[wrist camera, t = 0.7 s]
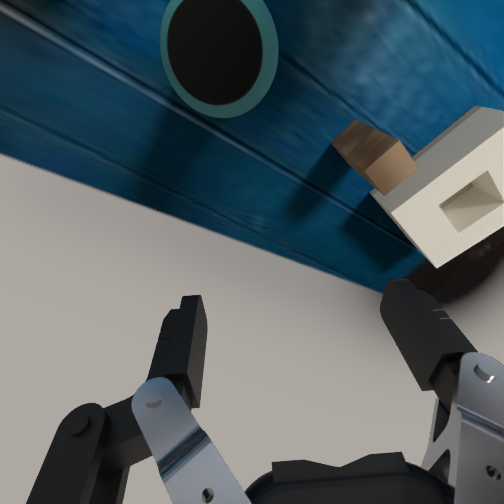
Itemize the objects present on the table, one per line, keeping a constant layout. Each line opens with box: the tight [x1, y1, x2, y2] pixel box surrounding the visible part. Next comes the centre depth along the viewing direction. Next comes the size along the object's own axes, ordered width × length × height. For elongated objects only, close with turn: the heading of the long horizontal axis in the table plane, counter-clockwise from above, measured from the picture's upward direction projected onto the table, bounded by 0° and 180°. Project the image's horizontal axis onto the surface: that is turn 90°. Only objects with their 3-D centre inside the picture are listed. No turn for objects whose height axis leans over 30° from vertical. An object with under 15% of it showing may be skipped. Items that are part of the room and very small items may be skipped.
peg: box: [331, 120, 419, 196], centre depth 29 cm, size 4×4×10 cm
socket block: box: [369, 106, 504, 268], centre depth 34 cm, size 14×12×6 cm
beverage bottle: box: [160, 0, 278, 118], centre depth 19 cm, size 6×7×20 cm
